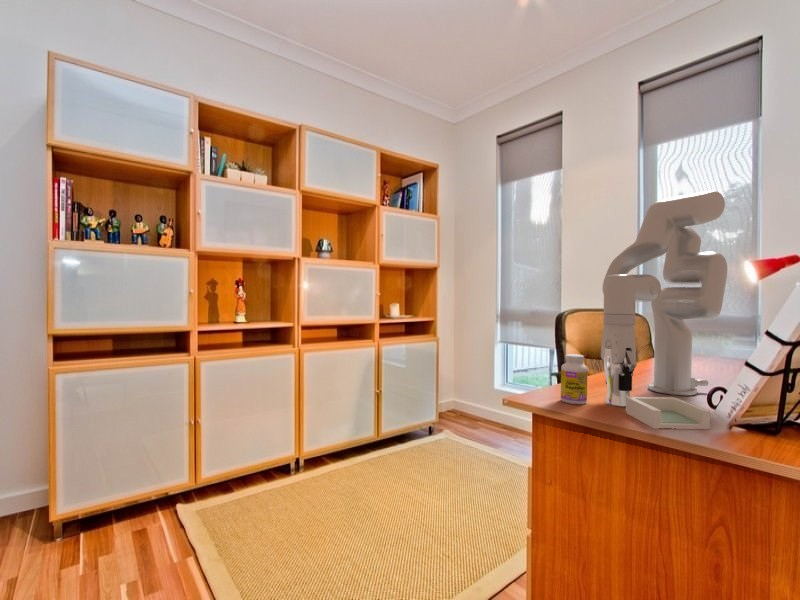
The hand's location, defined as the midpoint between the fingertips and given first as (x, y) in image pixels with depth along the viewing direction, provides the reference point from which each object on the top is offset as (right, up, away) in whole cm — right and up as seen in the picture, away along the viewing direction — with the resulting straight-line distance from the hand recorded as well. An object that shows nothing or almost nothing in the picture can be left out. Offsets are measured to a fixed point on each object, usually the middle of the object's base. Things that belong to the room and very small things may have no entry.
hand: (618, 386), depth 111 cm
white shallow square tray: (+4, -5, -14) cm, 15 cm away
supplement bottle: (-11, -5, +2) cm, 12 cm away
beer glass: (0, -5, 0) cm, 5 cm away
